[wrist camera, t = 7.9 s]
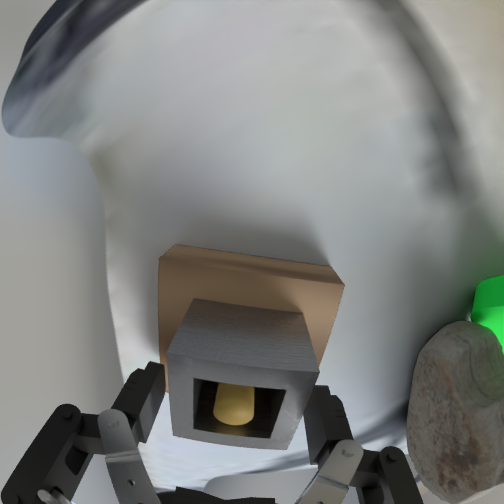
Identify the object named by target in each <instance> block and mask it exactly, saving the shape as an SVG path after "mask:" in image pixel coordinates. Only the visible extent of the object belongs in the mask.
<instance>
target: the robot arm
mask: <svg viewBox="0 0 504 504" xmlns="http://www.w3.org/2000/svg"><path fill="white" fill-rule="evenodd" d="M165 391H166V379H165V366H164V364H160V363H155V362H151V361H150V362H149V363H148V364H147V366H146V368H145V370H143V369H139V368H138V369H137V370H135V371H134V372H132V373H131V374H130V376H129V378H128V379H127V382H126V383H125V385H124V387H123V388H122V390H121V392H120V394H119V395H118V397H117V399H116V400H115V402H114V404H113V406H112V407H111V409H108V410H105V411H103V412H101V413H100V414H99V415H94V414H85V413H81V412H80V410H79V409H78V408H77V407H76V406H74V405H72V404H62V405H60V406H58V407H57V408H56V409H55V411H54V412H53V414H52V415H51V416H50V418H49V419H48V420H47V422H46V423H45V425H44V426H43V428H42V429H41V430H40V432H39V433H38V435H37V436H36V438H35V439H34V441H33V442H32V444H31V445H30V447H29V448H28V450H27V451H26V452H25V454H24V456H23V457H22V459H21V460H20V462H19V463H18V465H17V466H16V468H15V470H14V471H13V473H12V474H11V476H10V478H9V479H8V481H7V483H6V485H5V486H4V488H3V490H2V492H1V500H2V503H3V504H72V503H71V500H72V498H73V496H74V494H75V492H76V489H77V487H78V485H79V483H80V481H81V479H82V477H83V475H84V473H85V471H86V469H87V467H88V465H89V463H90V461H91V459H92V457H93V455H94V454H102V455H106V458H105V461H106V465H107V468H108V472H109V475H110V478H111V481H112V484H113V487H114V490H115V493H116V496H117V498H118V501H119V504H277V503H275V498H256V497H255V498H254V497H249V498H241V499H231V500H223V499H220V498H218V497H215V496H212V495H209V494H206V493H204V492H201V491H196V490H191V489H186V488H181V487H177V486H176V490H175V491H166V492H160V493H156V492H155V489H154V487H153V485H152V483H151V481H150V478H149V476H148V474H147V471H146V469H145V467H144V464H143V462H142V459H141V456H140V454H139V452H138V449H137V446H138V444H139V442H142V443H146V442H147V439H148V437H149V434H150V431H151V429H152V426H153V424H154V421H155V418H156V416H157V413H158V411H159V408H160V406H161V403H162V400H163V398H164V395H165ZM303 416H304V423H305V429H306V436H307V443H308V450H309V458H310V465H318V471H317V472H316V474H315V475H314V477H313V478H312V480H311V481H310V483H309V484H308V486H307V487H306V488H305V490H304V491H303V493H302V494H301V495H300V497H299V498H298V499H297V500H296V502H295V503H294V504H341V503H342V502H343V500H344V498H345V496H346V494H347V493H348V490H349V487H348V486H353V487H356V490H357V495H358V499H359V503H360V504H423V501H422V498H421V495H420V493H419V490H418V487H417V485H416V482H415V480H414V477H413V474H412V472H411V469H410V467H409V465H408V462H407V460H406V457H405V455H404V453H403V451H402V450H400V449H399V448H397V447H393V446H389V447H385V448H384V449H382V450H381V452H377V451H370V450H365V449H363V448H362V446H361V445H360V444H359V443H358V442H356V441H354V440H353V436H352V433H351V430H350V426H349V423H348V420H347V418H346V413H345V411H344V407H343V403H342V401H341V400H340V399H339V398H338V397H337V396H336V395H331V394H330V390H329V387H328V386H327V385H315V386H314V388H313V391H312V394H311V396H310V399H309V401H308V403H307V406H306V408H305V411H304V413H303Z"/></svg>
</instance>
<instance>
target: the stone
mask: <svg viewBox="0 0 504 504" xmlns="http://www.w3.org/2000/svg"><path fill="white" fill-rule="evenodd" d="M406 438H407V447H408V452H409V455H410V458H411V460H412V462H413V463H414V466H415V469H416V471H417V472H418V473H419V475H420V477H421V481H422V483H423V485H424V486H425V487H427V488H428V489H429V490H430V491H431V492H432V493H433V494H435V495H436V496H437V497H438V498H440V499H441V500H443V501H446V502H449V503H450V504H466V503H468V502H471V501H473V500H475V499H477V498H479V497H481V496H483V495H485V494H487V493H489V492H490V491H492V490H494V489H496V488H497V487H499V486H500V485H502V484H503V483H504V354H503V349H502V345H501V344H500V342H499V340H498V338H497V336H496V335H495V333H494V332H493V331H492V330H491V329H489V328H488V327H485V326H483V325H481V324H479V323H475V322H471V321H456V322H453V323H450V324H448V325H446V326H445V327H443V328H441V329H440V330H439V331H438V332H437V333H436V334H435V335H434V336H433V337H432V338H431V339H430V340H429V341H428V342H427V343H426V344H425V345H424V347H423V348H422V349H421V350H420V352H419V354H418V358H417V362H416V366H415V369H414V372H413V380H412V387H411V393H410V399H409V407H408V416H407V426H406Z"/></svg>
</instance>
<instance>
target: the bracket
mask: <svg viewBox="0 0 504 504" xmlns="http://www.w3.org/2000/svg"><path fill="white" fill-rule="evenodd" d="M470 318H471V321H472V322H475V323H479V324H481V325H483V326H485V327H488V328H489V329H491V330H492V331H493V332H494V333H495V335H496V336H497V338H498V340H499V342H500V344H501V345H502V349H503V353H504V275H502V276H497V277H492V278H488V279H486V280H484V281H482V282H480V283H479V284H478V285H477V287H476V291H475V296H474V302H473V307H472V312H471V317H470Z"/></svg>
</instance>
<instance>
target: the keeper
mask: <svg viewBox="0 0 504 504" xmlns="http://www.w3.org/2000/svg"><path fill="white" fill-rule="evenodd" d="M344 286H345V285H344V283H343V282H342V281H341V279H340V278H339V276H338V275H337V274H336V272H335V271H334V270H333V268H332V267H328V266H321V265H314V264H307V263H300V262H293V261H286V260H279V259H272V258H265V257H259V256H252V255H245V254H238V253H231V252H224V251H217V250H210V249H204V248H197V247H190V246H183V245H176V244H175V245H174V246H173V247H171V248H170V249H169V250H168V251H167V252H166V253H164V254H163V255H162V256H161V257H160V258H159V271H158V325H159V352H160V364H164V366H165V379H166V391H165V392H167V393H169V388H168V373H167V350H168V348H169V346H170V344H171V342H172V340H173V338H174V336H175V334H176V332H177V330H178V328H179V326H180V324H181V322H182V320H183V318H184V316H185V314H186V312H187V310H188V308H189V306H190V304H191V302H192V300H193V298H198V299H204V300H210V301H216V302H223V303H230V304H237V305H244V306H251V307H258V308H266V309H274V310H282V311H291V312H300V313H303V314H304V317H305V321H306V324H307V328H308V331H309V335H310V338H311V342H312V345H313V349H314V353H315V356H316V360H317V363H318V367H319V365H320V363H321V360H322V357H323V354H324V351H325V348H326V345H327V342H328V339H329V336H330V333H331V330H332V327H333V324H334V321H335V317H336V314H337V311H338V307H339V304H340V300H341V297H342V293H343V290H344ZM254 391H255V387H252V386H243V385H236V384H228V383H222V382H219V384H218V389H217V394H216V400H215V405H214V410H213V413H214V416H215V417H216V418H217V419H218V420H219V421H221V422H223V423H226V424H230V425H242V424H245V423H248V422H249V421H251V420H252V418H253V416H254Z"/></svg>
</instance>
